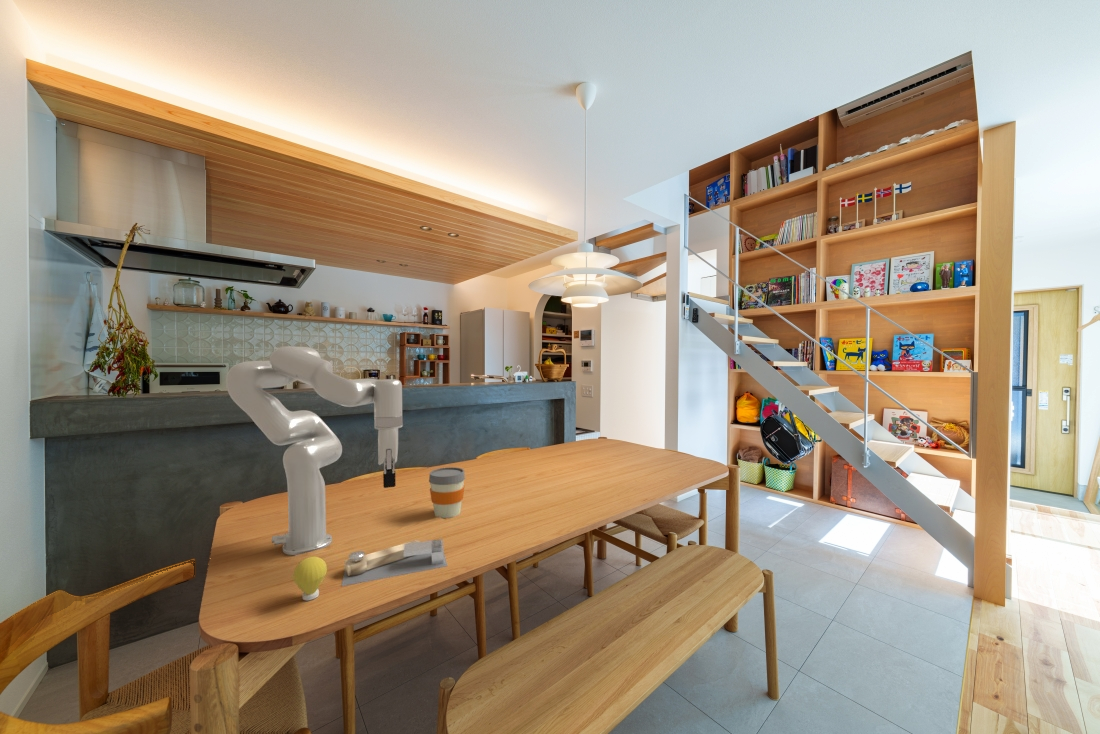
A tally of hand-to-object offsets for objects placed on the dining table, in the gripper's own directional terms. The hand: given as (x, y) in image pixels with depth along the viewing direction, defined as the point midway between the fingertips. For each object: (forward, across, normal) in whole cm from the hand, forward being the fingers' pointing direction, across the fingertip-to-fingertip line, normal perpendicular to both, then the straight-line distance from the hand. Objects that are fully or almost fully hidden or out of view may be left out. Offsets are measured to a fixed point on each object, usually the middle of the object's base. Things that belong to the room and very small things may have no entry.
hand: (389, 485), depth 116 cm
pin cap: (+15, +11, -8) cm, 20 cm away
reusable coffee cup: (+19, -23, +19) cm, 36 cm away
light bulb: (+19, +19, -17) cm, 32 cm away
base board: (+19, +10, +2) cm, 22 cm away
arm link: (+18, +8, -1) cm, 20 cm away
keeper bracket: (+18, +12, +8) cm, 23 cm away
